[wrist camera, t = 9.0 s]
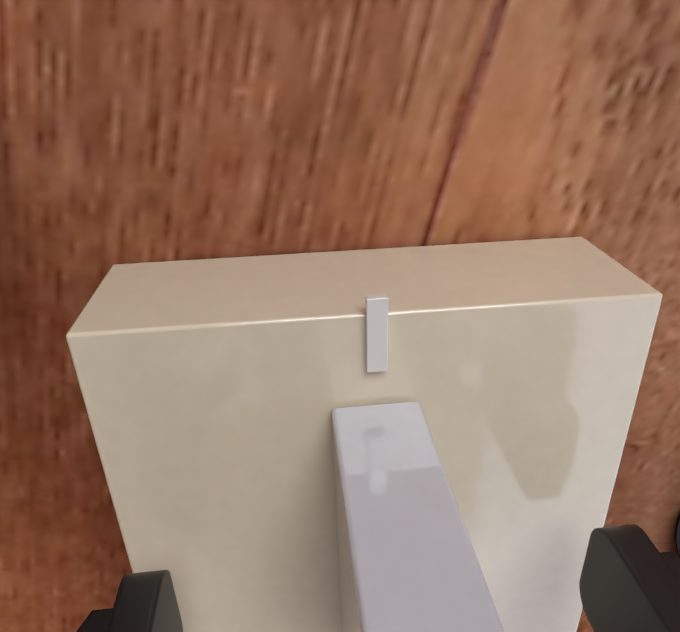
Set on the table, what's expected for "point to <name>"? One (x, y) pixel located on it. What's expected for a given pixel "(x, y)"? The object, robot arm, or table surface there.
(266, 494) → the base
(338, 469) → the tap handle
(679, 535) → the coaster
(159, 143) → the table surface
